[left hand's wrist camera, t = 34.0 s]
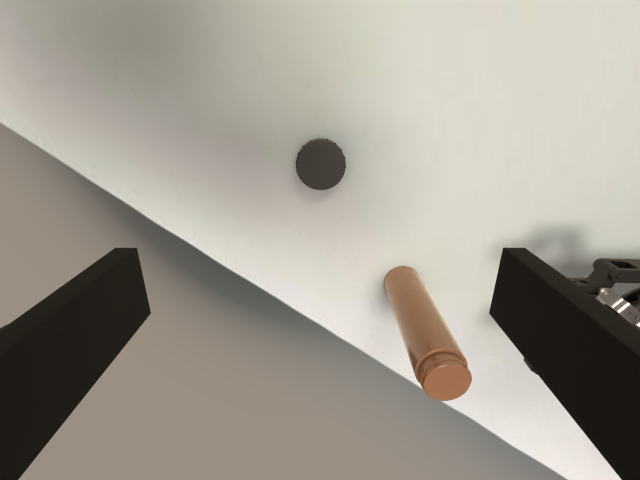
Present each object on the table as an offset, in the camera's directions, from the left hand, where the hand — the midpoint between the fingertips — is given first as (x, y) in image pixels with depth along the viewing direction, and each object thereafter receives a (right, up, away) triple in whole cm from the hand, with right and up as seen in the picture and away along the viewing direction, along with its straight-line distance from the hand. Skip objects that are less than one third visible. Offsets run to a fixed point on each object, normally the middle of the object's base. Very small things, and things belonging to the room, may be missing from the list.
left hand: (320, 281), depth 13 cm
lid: (0, +10, +25) cm, 27 cm away
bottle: (+10, -4, +32) cm, 34 cm away
